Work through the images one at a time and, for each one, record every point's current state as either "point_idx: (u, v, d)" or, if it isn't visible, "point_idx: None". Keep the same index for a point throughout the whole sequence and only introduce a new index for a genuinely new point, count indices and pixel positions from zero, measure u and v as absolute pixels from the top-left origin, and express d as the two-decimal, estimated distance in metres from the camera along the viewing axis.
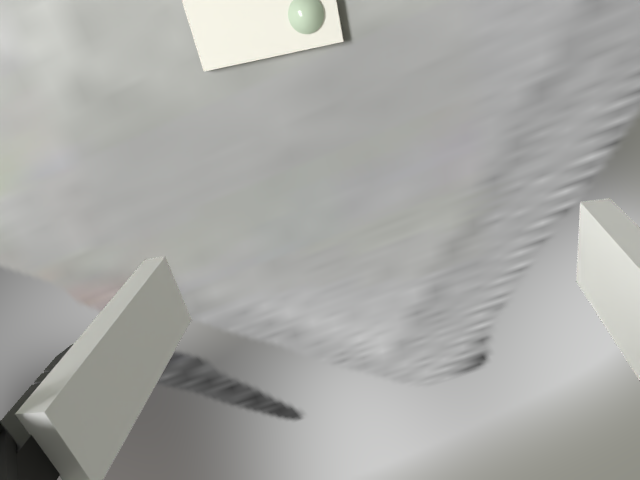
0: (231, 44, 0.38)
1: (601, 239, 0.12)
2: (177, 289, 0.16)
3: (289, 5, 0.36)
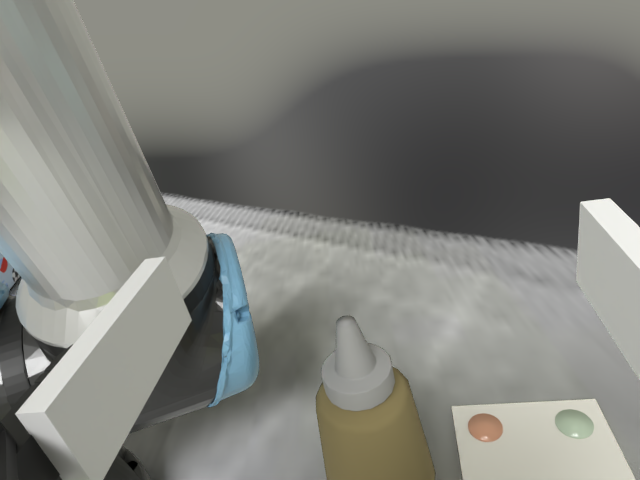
0: None
1: (601, 239, 0.12)
2: (177, 289, 0.16)
3: (567, 435, 0.38)
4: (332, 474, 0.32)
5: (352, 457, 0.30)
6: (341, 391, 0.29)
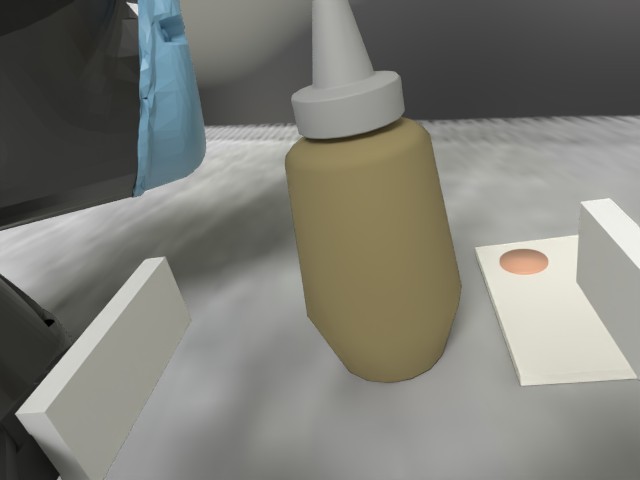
0: None
1: (600, 239, 0.12)
2: (177, 288, 0.16)
3: None
4: (310, 270, 0.21)
5: (338, 218, 0.19)
6: (320, 99, 0.18)
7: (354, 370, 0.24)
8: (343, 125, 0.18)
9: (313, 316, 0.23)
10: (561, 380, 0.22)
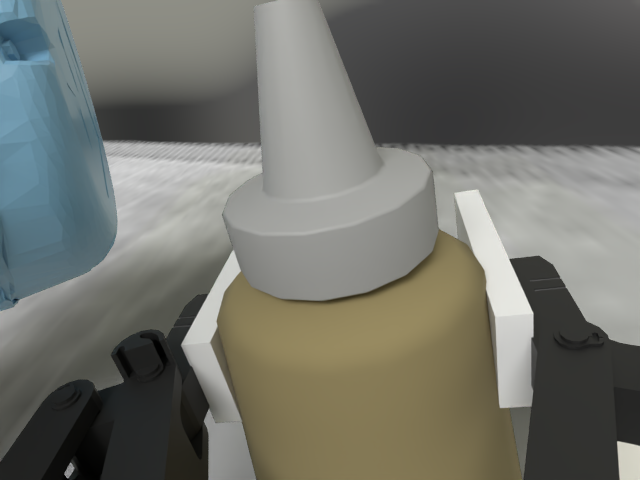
0: None
1: (461, 223, 0.14)
2: None
3: None
4: None
5: (311, 450, 0.10)
6: (270, 229, 0.09)
7: None
8: (318, 282, 0.09)
9: None
10: None
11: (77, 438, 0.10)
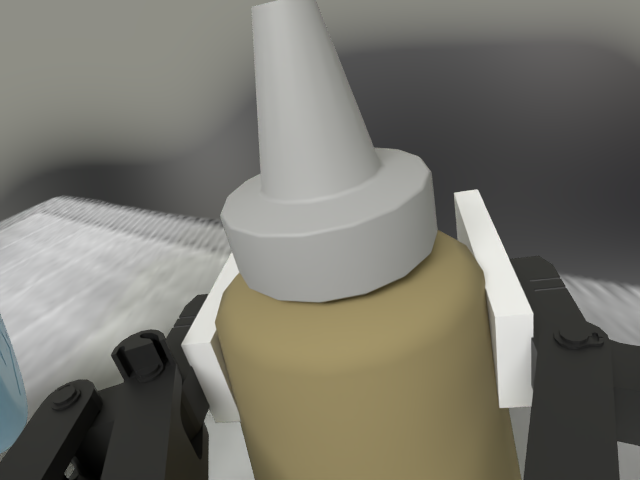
0: None
1: (461, 223, 0.14)
2: None
3: None
4: None
5: (310, 451, 0.10)
6: (268, 231, 0.09)
7: None
8: (316, 283, 0.09)
9: None
10: None
11: (77, 438, 0.10)
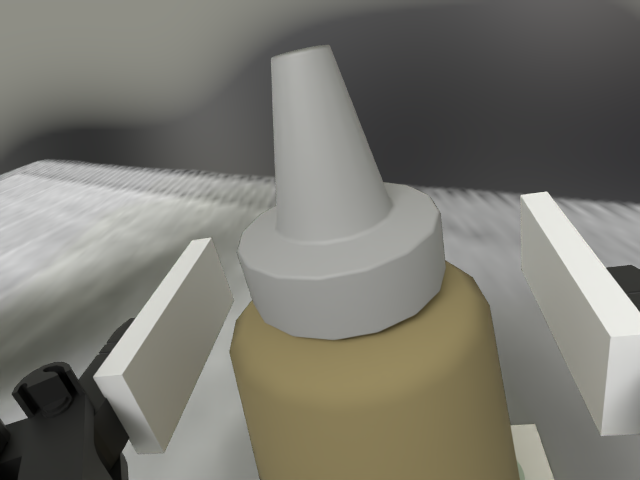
0: None
1: (534, 228, 0.13)
2: (221, 269, 0.17)
3: None
4: None
5: None
6: (285, 273, 0.09)
7: None
8: (331, 322, 0.09)
9: None
10: None
11: None
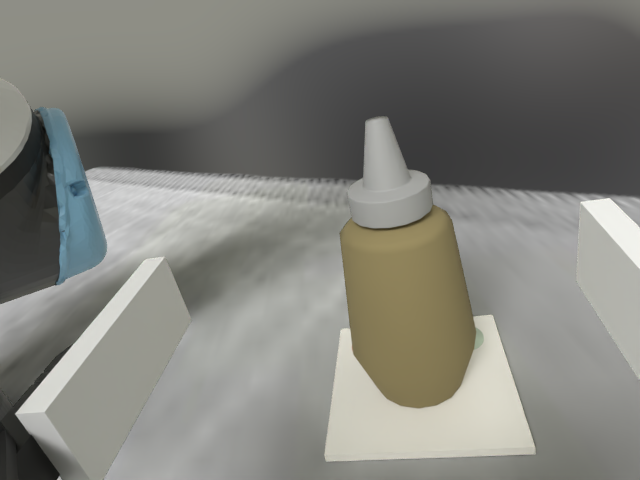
0: (494, 406, 0.29)
1: (601, 239, 0.12)
2: (177, 289, 0.16)
3: None
4: (359, 322, 0.28)
5: (384, 287, 0.25)
6: (371, 201, 0.24)
7: (390, 398, 0.30)
8: (388, 220, 0.25)
9: (359, 356, 0.29)
10: (354, 459, 0.28)
11: None
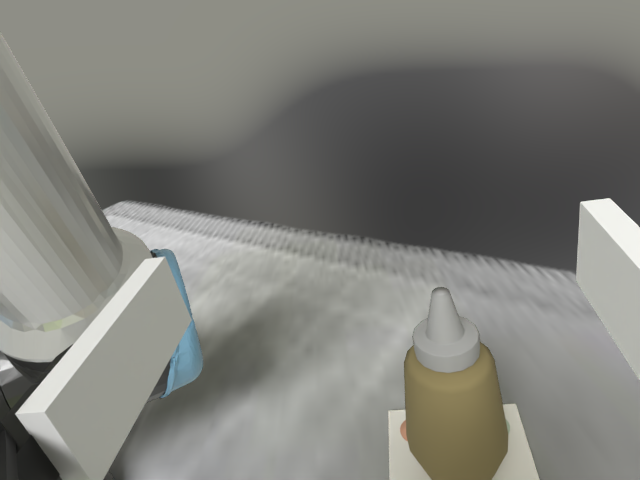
0: None
1: (600, 239, 0.12)
2: (177, 289, 0.16)
3: None
4: (419, 433, 0.35)
5: (443, 415, 0.33)
6: (436, 354, 0.32)
7: None
8: (449, 368, 0.32)
9: (416, 455, 0.37)
10: None
11: None
